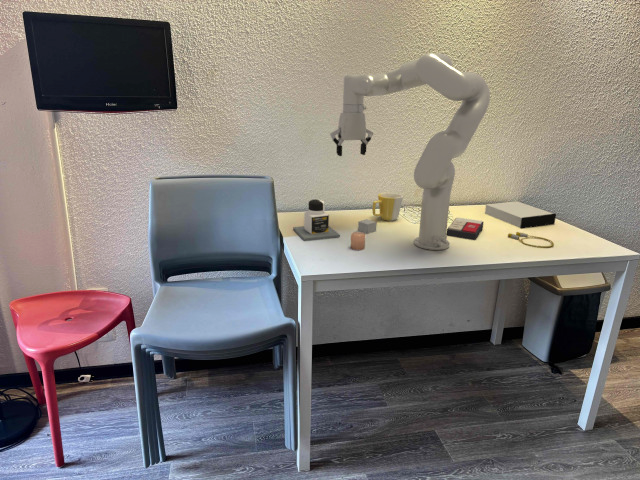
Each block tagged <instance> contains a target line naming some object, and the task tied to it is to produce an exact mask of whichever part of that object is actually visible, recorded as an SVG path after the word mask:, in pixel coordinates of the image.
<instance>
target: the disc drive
mask: <svg viewBox="0 0 640 480" xmlns="http://www.w3.org/2000/svg"><path fill="white" fill-rule="evenodd" d="M484 214H485V215H487V216H490V217H492V218H494V219H497V220H500V221H502V222H504V223H507V224H510V225H512V226H514V227H517V228H519V229H528V228H529V229H530V228H537V227H546V226H552V225H555V223H556V218H557V213H553V212H550V211H547V210H544V209H541V208H537V207H535V206H532V205H529V204H526V203H523V202H521V201H518V200H516V201H508V202H507V201H506V202H499V203H497V202H496V203H488V204H485V209H484Z"/></svg>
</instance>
